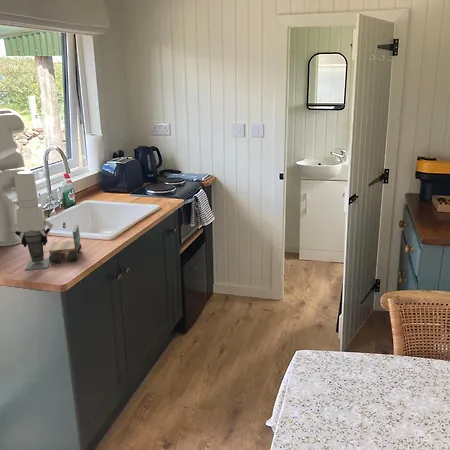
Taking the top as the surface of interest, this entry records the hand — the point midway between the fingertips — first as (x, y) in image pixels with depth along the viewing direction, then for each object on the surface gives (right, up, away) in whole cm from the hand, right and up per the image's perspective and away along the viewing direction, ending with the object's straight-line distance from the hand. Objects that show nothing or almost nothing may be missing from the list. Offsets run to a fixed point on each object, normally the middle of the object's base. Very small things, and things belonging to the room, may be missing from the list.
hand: (35, 245), depth 201 cm
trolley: (+10, -6, +9) cm, 14 cm away
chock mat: (0, -8, +3) cm, 9 cm away
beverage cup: (0, -7, +2) cm, 7 cm away
